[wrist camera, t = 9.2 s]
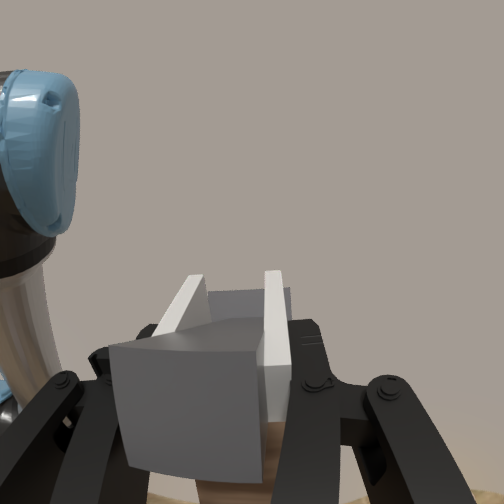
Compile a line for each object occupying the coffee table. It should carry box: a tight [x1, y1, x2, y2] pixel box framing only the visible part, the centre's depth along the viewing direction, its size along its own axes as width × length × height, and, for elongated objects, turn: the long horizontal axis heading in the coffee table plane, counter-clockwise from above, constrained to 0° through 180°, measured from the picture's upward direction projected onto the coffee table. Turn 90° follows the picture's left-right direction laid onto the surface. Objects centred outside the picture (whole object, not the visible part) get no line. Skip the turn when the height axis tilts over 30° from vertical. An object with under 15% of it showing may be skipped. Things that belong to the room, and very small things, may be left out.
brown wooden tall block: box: [195, 421, 286, 504], centre depth 22 cm, size 10×12×30 cm
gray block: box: [109, 287, 292, 483], centre depth 15 cm, size 21×6×5 cm, turn 175°
